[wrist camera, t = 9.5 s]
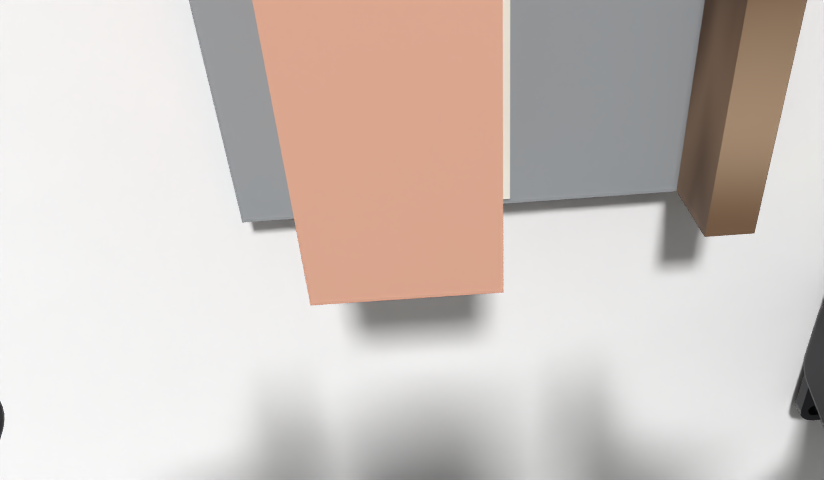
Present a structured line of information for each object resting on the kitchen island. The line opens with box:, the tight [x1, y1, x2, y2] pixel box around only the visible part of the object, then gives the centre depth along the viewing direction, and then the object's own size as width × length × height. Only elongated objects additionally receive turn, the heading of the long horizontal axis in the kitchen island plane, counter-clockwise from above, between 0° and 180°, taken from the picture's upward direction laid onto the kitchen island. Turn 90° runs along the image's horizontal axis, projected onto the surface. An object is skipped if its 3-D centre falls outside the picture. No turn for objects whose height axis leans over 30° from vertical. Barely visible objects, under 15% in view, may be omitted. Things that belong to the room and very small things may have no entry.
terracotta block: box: [252, 0, 503, 305], centre depth 15 cm, size 4×8×5 cm, turn 4°
